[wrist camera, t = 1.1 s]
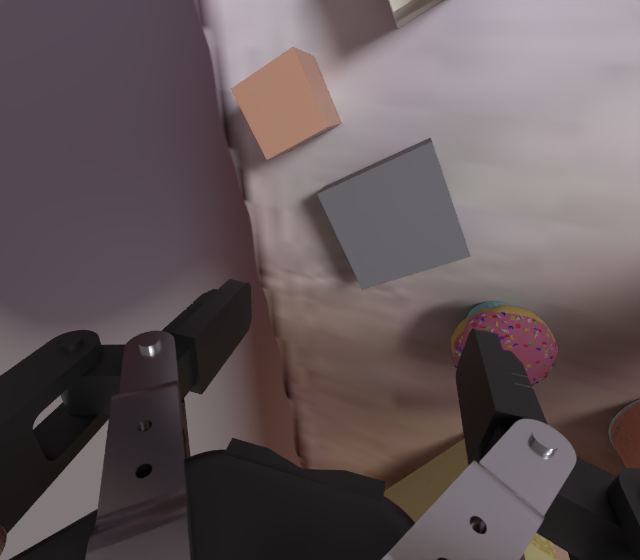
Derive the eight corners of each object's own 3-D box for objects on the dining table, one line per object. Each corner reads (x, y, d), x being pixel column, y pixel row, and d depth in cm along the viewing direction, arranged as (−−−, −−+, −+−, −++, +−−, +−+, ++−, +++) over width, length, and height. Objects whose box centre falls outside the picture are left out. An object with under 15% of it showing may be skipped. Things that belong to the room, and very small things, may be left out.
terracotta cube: (314, 56, 28) (293, 46, 23) (342, 123, 29) (327, 127, 25) (260, 91, 30) (230, 88, 25) (289, 151, 32) (266, 160, 27)
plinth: (430, 137, 28) (431, 141, 26) (465, 243, 31) (470, 256, 29) (324, 186, 32) (317, 194, 30) (366, 275, 35) (362, 289, 33)
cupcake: (442, 289, 34) (454, 371, 24) (540, 278, 31) (601, 366, 21) (451, 357, 37) (465, 455, 27) (540, 353, 34) (594, 460, 24)
